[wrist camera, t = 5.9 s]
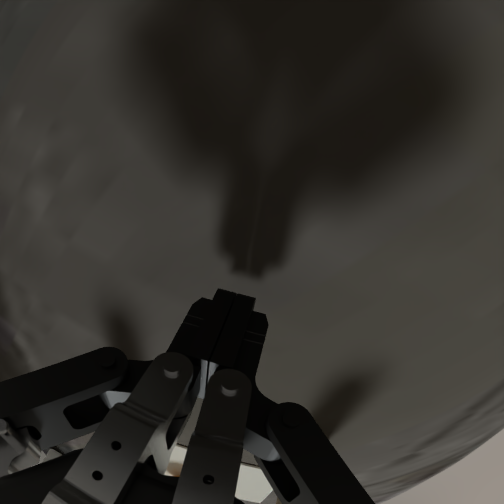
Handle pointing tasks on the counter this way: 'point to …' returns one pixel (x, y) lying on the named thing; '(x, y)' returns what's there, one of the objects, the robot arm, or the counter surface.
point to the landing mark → (249, 480)
